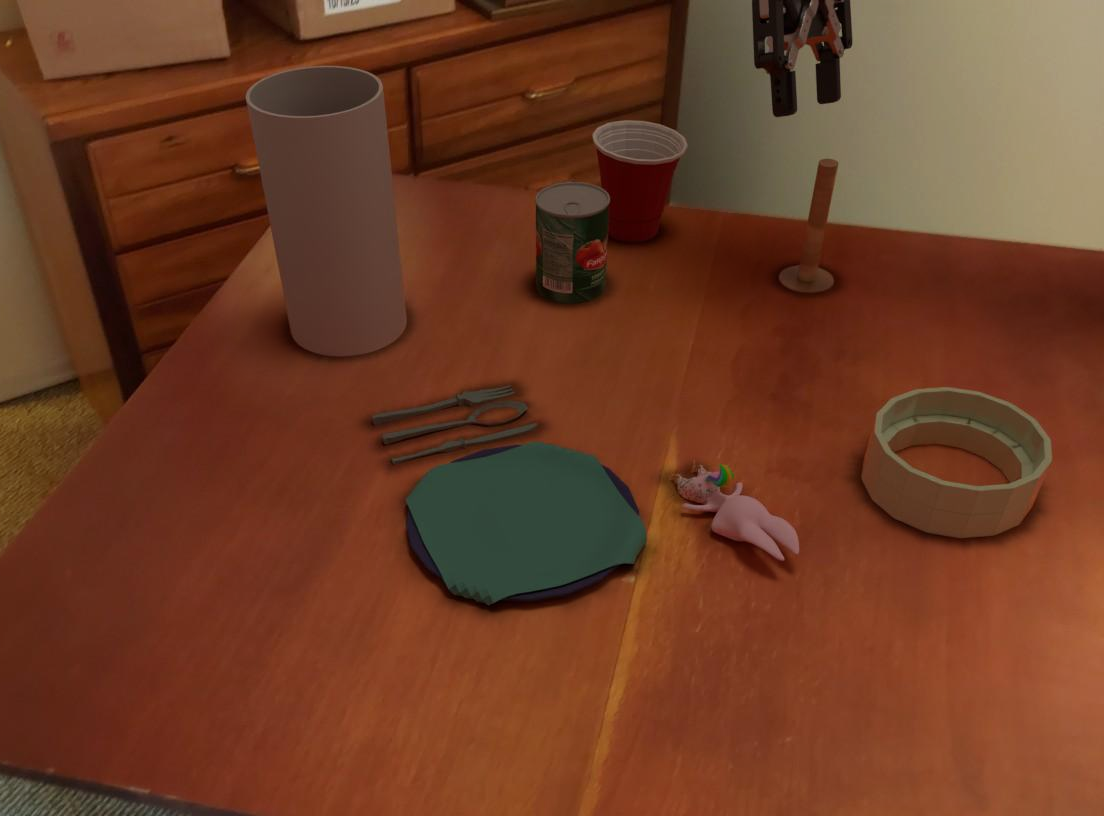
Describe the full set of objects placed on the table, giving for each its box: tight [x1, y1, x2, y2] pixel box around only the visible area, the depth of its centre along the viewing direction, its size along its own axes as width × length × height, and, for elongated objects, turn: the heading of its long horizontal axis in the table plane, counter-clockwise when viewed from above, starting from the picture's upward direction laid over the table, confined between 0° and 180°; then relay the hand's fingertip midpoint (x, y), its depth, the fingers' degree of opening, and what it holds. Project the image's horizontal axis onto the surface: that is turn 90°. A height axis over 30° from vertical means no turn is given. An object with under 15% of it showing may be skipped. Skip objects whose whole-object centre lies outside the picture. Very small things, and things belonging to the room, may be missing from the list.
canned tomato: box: [534, 181, 610, 305], centre depth 116 cm, size 8×8×11 cm
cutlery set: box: [371, 384, 647, 606], centre depth 94 cm, size 20×30×2 cm, turn 21°
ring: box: [860, 386, 1053, 539], centre depth 92 cm, size 14×14×6 cm
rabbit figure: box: [668, 459, 800, 562], centre depth 89 cm, size 6×6×15 cm
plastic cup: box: [592, 119, 689, 243], centre depth 124 cm, size 11×11×12 cm
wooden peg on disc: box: [778, 158, 840, 295], centre depth 114 cm, size 6×6×14 cm
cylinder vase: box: [245, 65, 408, 357], centre depth 106 cm, size 12×12×25 cm
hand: (807, 109), depth 103 cm, fingers open, 8 cm apart
